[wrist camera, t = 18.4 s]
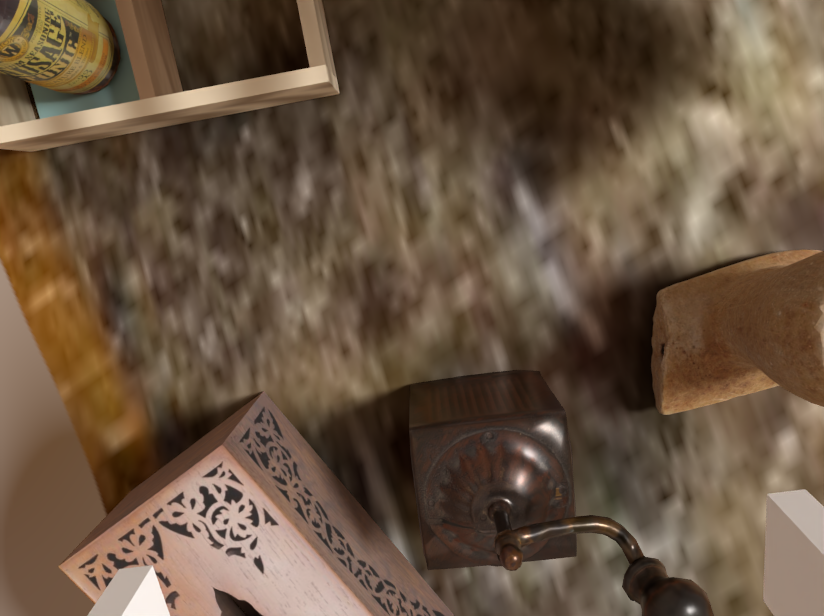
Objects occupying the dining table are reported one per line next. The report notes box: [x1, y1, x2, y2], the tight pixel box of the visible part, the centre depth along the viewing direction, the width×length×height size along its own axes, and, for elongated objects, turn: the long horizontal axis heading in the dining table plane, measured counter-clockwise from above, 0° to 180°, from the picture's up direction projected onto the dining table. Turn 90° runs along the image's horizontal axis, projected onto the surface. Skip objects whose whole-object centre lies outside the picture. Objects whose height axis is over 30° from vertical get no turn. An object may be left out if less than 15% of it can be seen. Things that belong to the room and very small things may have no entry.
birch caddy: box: [0, 0, 340, 152], centre depth 38 cm, size 23×12×5 cm, turn 100°
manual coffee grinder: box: [409, 370, 714, 616], centre depth 38 cm, size 16×11×18 cm
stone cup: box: [651, 249, 824, 415], centre depth 37 cm, size 15×12×15 cm
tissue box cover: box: [59, 391, 454, 616], centre depth 44 cm, size 26×14×10 cm, turn 37°
